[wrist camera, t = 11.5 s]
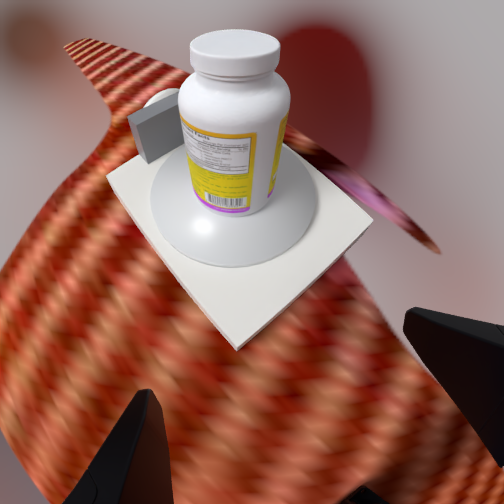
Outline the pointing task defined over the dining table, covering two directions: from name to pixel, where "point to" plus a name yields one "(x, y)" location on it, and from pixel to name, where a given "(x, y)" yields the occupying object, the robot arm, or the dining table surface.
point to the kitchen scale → (233, 227)
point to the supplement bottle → (234, 120)
